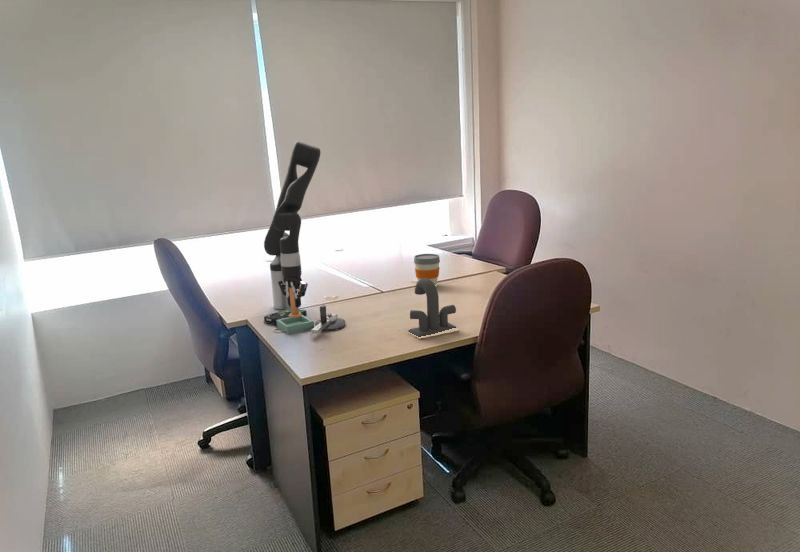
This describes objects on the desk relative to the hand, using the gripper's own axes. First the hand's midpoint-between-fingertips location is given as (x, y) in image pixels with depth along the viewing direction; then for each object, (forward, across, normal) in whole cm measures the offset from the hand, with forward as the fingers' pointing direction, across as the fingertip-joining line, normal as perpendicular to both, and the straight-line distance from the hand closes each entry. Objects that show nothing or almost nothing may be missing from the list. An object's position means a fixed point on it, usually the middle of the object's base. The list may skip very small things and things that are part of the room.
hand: (294, 306), depth 228 cm
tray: (+9, 0, 0) cm, 9 cm away
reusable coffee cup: (+9, +18, +76) cm, 79 cm away
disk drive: (+9, -11, +6) cm, 15 cm away
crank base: (+9, +11, +7) cm, 16 cm away
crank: (+7, +12, +3) cm, 15 cm away
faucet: (+10, +48, +20) cm, 54 cm away
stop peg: (+4, 0, 0) cm, 4 cm away
